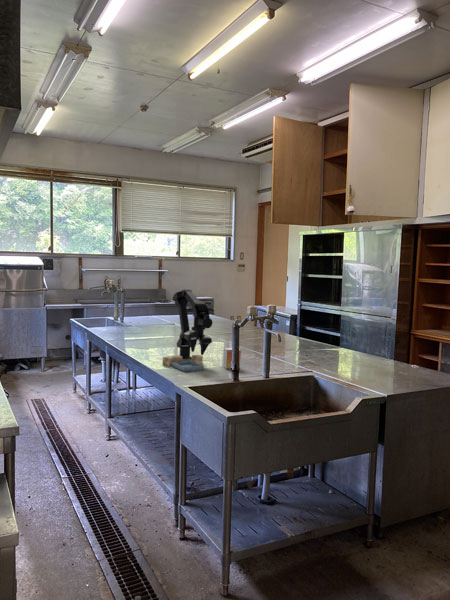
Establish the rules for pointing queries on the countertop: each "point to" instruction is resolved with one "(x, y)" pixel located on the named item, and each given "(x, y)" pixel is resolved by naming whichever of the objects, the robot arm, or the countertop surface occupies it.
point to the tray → (187, 366)
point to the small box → (229, 357)
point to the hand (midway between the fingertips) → (197, 353)
